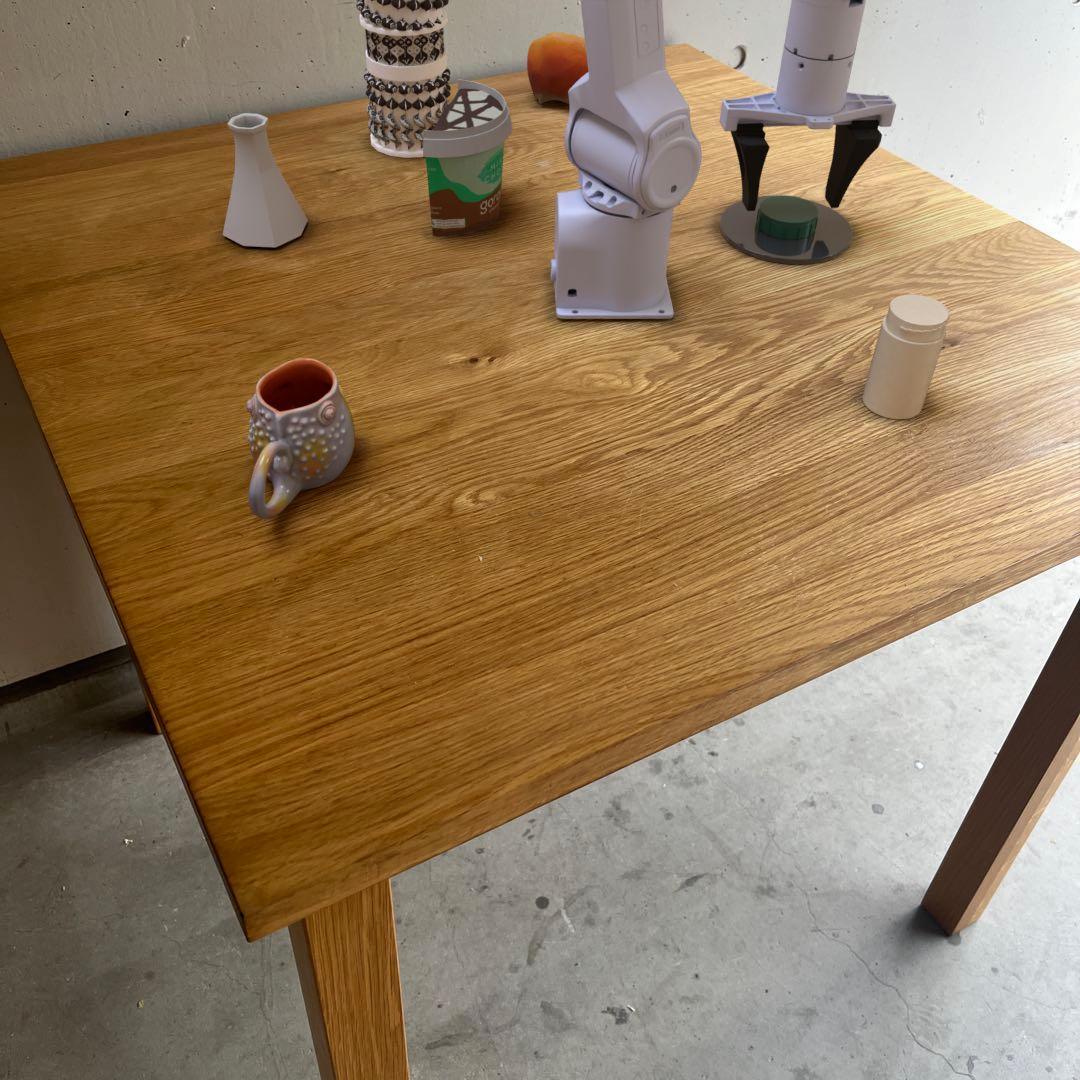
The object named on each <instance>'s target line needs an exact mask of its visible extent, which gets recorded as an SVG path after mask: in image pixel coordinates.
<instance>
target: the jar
mask: <svg viewBox="0 0 1080 1080" xmlns="http://www.w3.org/2000/svg"><path fill="white" fill-rule="evenodd" d="M950 318H951V316H950V311H949V310H948V307H947V306H946V305H945V304H943V303H942V302H940V301H939V300H937V299H936V298H933V297H930V296H926V295H922V294H915V293H914V294H913V293H912V294H911V293H910V294H908V293H907V294H901V295H898V296H895V297H894V298H893V299H892V300H891V301H890V303H889V307H888V310H887V313H886V314H885V316H884V317H883V319H882V321H881V325H880V328H879V332H878V336H877V339H876V343H875V347H874V350H873V354H872V358H871V361H870V364H869V370H868V373H867V377H866V380H865V384H864V387H863V391H862V395H861V398H862V402H863V404H864V405H865V407H866V408H867V409H868V410H870V412H872V413H874V414H876V415H878V416H880V417H883V418H887V419H891V420H907V419H911V418H914V417H917V416H918V415H919V414H920V413H921V412H922V410H923V408H924V405H925V401H926V398H927V396H928V392H929V389H930V386H931V382H932V379H933V376H934V373H935V370H936V367H937V364H938V361H939V358H940V355H941V351H942V348H943V345H944V342H945V339H946V336H947V329H946V328H947V327H946V326H947V325H948V324H949V322H950Z"/></svg>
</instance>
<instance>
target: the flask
mask: <svg viewBox="0 0 1080 1080" xmlns="http://www.w3.org/2000/svg"><path fill="white" fill-rule="evenodd" d="M268 125H269V117H267V116H265V115H262V114H259V113H249V112H243V113H240V114H237V115H235V116H232V117H230V119H229V120H228V122H227V128H228V130H229V131H231V132H232V135H233V142H234V157H235V158H234V171H233V177H232V185H231V190H230V196H229V201H228V205H227V210H226V215H225V220H224V226H223V231H222V236H224V237H225V238H228V239H230V240H231V241H234V242H235V243H236V244H239V245H241V246H243V247H258V248H259V247H260V248H278V247H280V246H282V245H284V244H286V243H289V242H291V241H293V240H294V239H297V238H299V237H300V236H302V234H303V231H304V229H305V228H306V225H307V223H308V221H309V219H308V218H307V216H306V214H305V212H304V210H303V208H302V207H301V205H300V203H299V201H297V198H296V197H295V195H294V194H293V192H292V190H291V188H290V186H289V184H288V183H287V181H286V179H285V178H284V175H283V174H282V172H281V170H280V167H279V165H278V164H277V162H276V160H275V157H274V153H273V151H272V149H271V145H270V143H269V138H268V131H267V127H268Z"/></svg>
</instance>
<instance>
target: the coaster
mask: <svg viewBox="0 0 1080 1080" xmlns="http://www.w3.org/2000/svg"><path fill="white" fill-rule="evenodd" d="M773 196H774V195H761V196H758V201H757V205H756V209H755V211H747V210H746V208H745V206H744V204H743V202H742V200H738V201H736V202H734V203H732V204H731V205H730V206H728V207H726V208H725V209H724V211H723V212H722V213H721V214H720V218H719V226H718V228H719V231H720V235H721V236H722V238H723V239H724V240H725V241H726V242H727V243H728V244H729V246H732V248H734V249H736V250H737V251H739V252H741V253H743V254H745V255H748V256H750V257H752V258H756V259H759V260H762V261H766V262H771V263H776V264H784V265H813V264H819V263H825V262H827V261H830V260H831V261H832V260H833V259H836V258H838V257H839V256H841V255H843V254H844V253H845V252H846V251H848V249H849V248H850V247H851V245H852V242H853V238H854V230H853V227H852V226H851V223H850V222H849V221H848V220H847V219H846V218H845V217H844V216H843V215H842V214H840V213H839V212H837V210H835V209H834V208H831V207H830V206H827V205H824V204H822V203H819V202H816V201H812V200H809V199H805V198H804V199H805V200H807V201H809V202H811V203H813V204H814V205H815V206H816V207H817V209H818V216H817V217H818V221H817V226H816V229H815V230H814V232H813V233H812V234H811V235H810V236H808V237H805V238H802V239H795V240H788V239H780V238H776V237H772V236H770V235H768V234H766V233H764V232H763V231H761V230H760V229H759V228H758V225H757V221H756V220H757V214H758V209H759V207H760V204H761V202H762V201H763V200H765V199H767V198H769V197H773Z"/></svg>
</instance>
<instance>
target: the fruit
mask: <svg viewBox="0 0 1080 1080" xmlns="http://www.w3.org/2000/svg"><path fill="white" fill-rule="evenodd" d="M526 59H527V60H526V69H527V77H528V82H529V84H530V88H531V91H532V94H533V95H534V97H536V98H537V99H538V102H539V104H540V106H541V105H542V104H543V103H546V102H550V101H551V102H552V101H559V102H562V103H565V104H567V105H569V106H570V104H569V95H568V91H569V90H570V88H571V87H572V86H573V85H574V84H575V83H576V82H577V81H578V80H579V79H580V78H581V77H582V76H584V75H585V74H586V73H588V63H587V54H586V45H585V37H582V36H581V35H580V36H579V35H577V34H574V33H573V34H572V33H565V32H562V31H552V32H549V33H546V34H545V35H543V36H540V37H539V38H537V39H536V38H535V39H533V41H532V42H531V43H530V45H529V47H528V51H527V58H526Z"/></svg>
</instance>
